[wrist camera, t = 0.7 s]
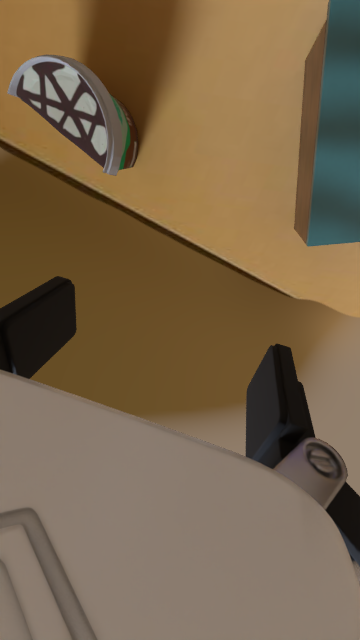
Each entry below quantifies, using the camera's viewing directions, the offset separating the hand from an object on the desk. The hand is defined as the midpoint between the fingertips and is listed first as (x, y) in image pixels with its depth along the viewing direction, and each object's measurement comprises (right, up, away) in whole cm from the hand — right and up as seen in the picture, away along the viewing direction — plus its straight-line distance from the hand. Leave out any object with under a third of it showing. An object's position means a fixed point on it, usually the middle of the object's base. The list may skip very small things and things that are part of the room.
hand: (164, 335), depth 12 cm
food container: (-8, +27, +20) cm, 34 cm away
